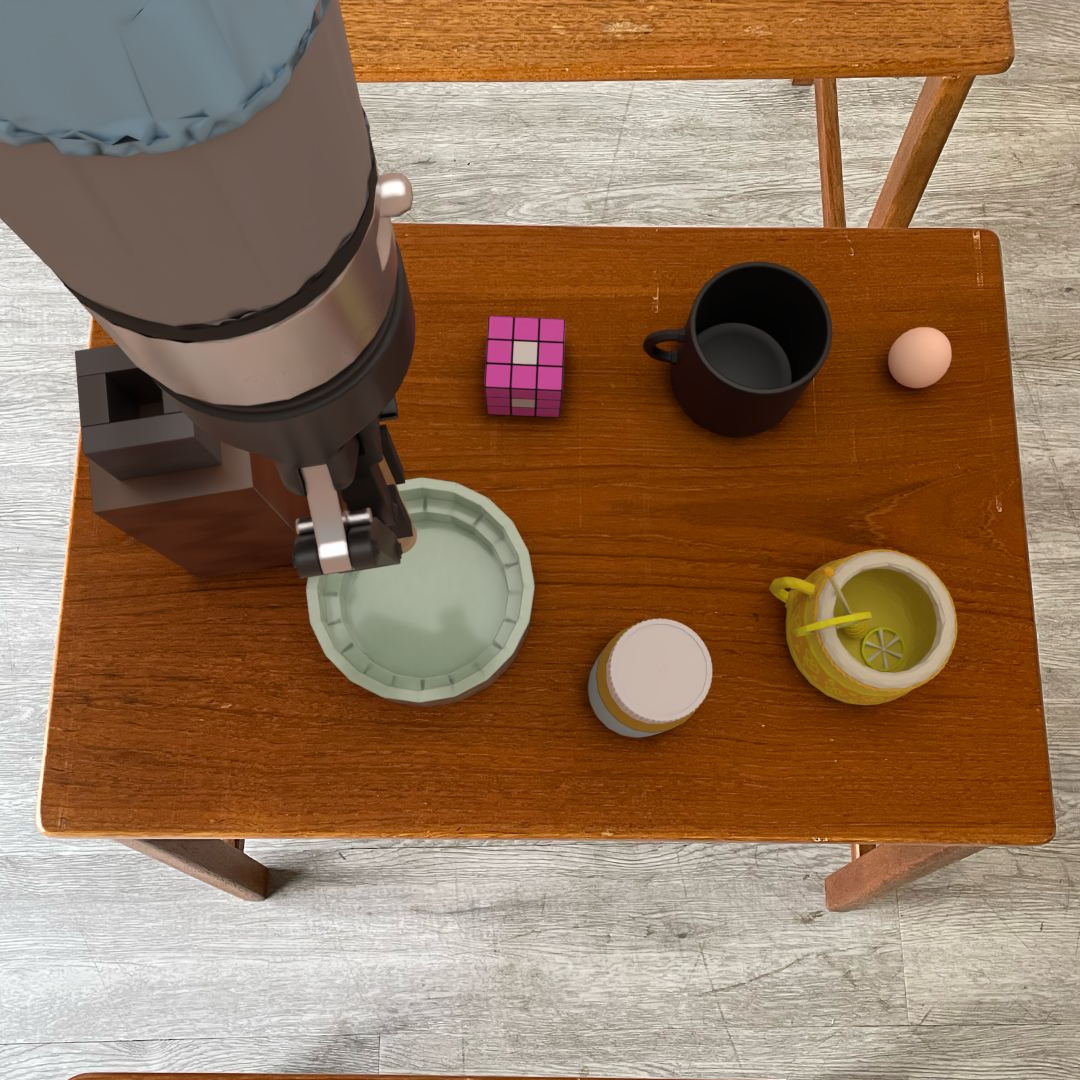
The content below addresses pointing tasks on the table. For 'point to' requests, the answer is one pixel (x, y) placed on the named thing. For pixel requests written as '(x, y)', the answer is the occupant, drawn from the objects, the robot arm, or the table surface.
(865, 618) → the mug
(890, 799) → the table surface
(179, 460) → the utensil stand
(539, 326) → the puzzle toy
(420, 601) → the bowl
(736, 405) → the mug
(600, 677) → the bottle
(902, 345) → the egg
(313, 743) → the table surface
